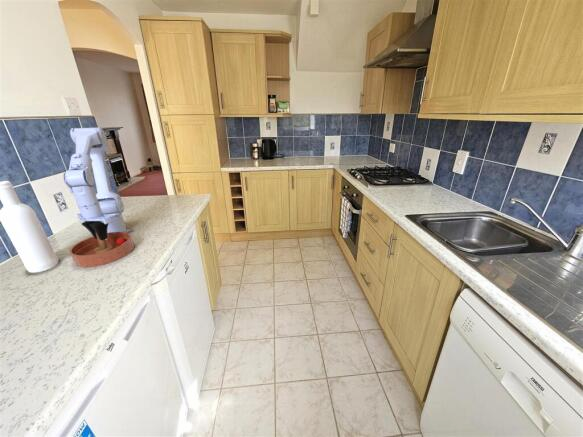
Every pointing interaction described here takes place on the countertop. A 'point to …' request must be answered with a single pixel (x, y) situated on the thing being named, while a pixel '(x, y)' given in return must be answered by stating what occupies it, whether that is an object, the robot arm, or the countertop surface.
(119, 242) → the tomato
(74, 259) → the bowl
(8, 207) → the bottle
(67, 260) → the countertop surface
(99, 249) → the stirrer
